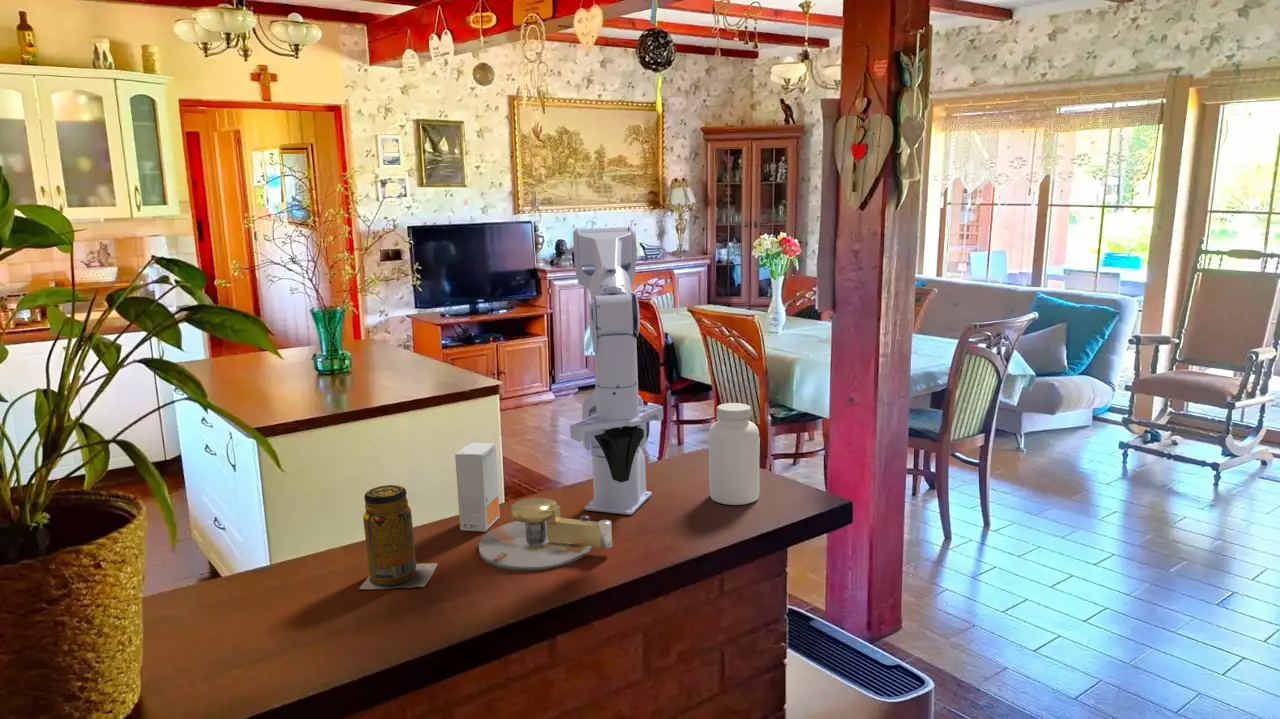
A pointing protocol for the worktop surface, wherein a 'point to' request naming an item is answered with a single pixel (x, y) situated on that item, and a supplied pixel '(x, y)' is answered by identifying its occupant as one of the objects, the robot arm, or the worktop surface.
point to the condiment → (391, 541)
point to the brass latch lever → (563, 523)
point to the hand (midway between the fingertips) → (620, 479)
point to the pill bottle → (733, 456)
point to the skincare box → (477, 486)
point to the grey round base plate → (527, 547)
